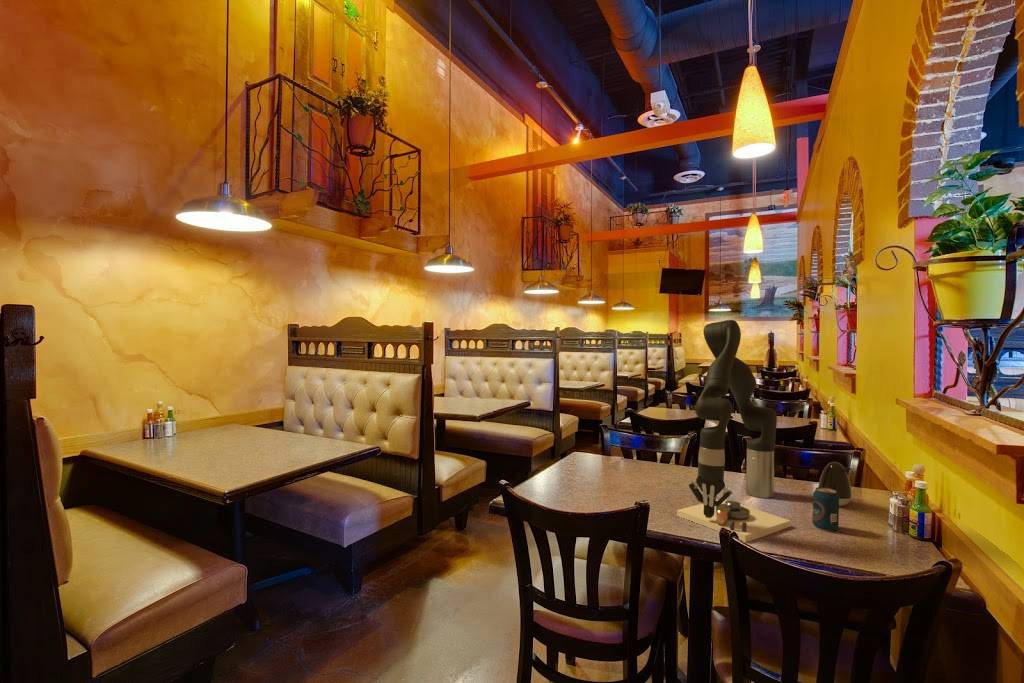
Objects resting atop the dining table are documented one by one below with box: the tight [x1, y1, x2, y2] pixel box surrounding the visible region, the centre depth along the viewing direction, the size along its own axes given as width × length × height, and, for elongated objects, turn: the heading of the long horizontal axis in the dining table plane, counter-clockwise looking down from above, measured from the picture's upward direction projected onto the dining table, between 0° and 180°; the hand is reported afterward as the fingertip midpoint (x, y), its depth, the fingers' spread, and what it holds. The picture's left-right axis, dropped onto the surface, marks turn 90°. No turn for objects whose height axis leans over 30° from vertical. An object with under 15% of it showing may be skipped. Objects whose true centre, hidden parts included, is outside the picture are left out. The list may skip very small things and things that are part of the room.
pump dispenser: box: [817, 461, 853, 507], centre depth 178 cm, size 10×10×15 cm
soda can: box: [811, 486, 840, 532], centre depth 154 cm, size 7×7×12 cm
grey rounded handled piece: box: [716, 500, 750, 525], centre depth 156 cm, size 18×10×4 cm, turn 140°
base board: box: [676, 499, 791, 543], centre depth 158 cm, size 24×24×4 cm
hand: (708, 517), depth 153 cm, fingers closed
